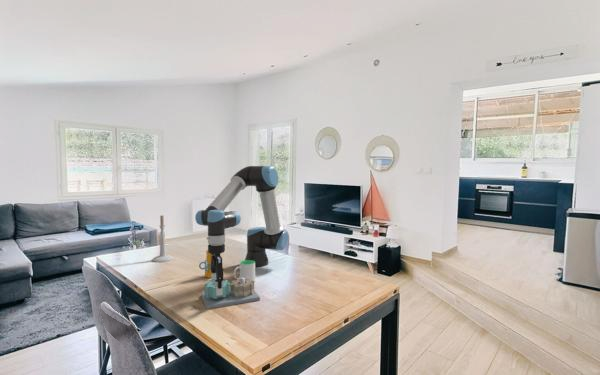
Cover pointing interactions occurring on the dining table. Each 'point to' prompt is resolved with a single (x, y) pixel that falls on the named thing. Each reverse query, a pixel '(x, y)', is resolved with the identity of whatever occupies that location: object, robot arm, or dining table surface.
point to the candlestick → (162, 245)
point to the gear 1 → (211, 289)
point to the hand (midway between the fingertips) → (216, 290)
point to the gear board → (228, 299)
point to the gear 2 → (242, 288)
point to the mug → (246, 270)
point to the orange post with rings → (207, 265)
